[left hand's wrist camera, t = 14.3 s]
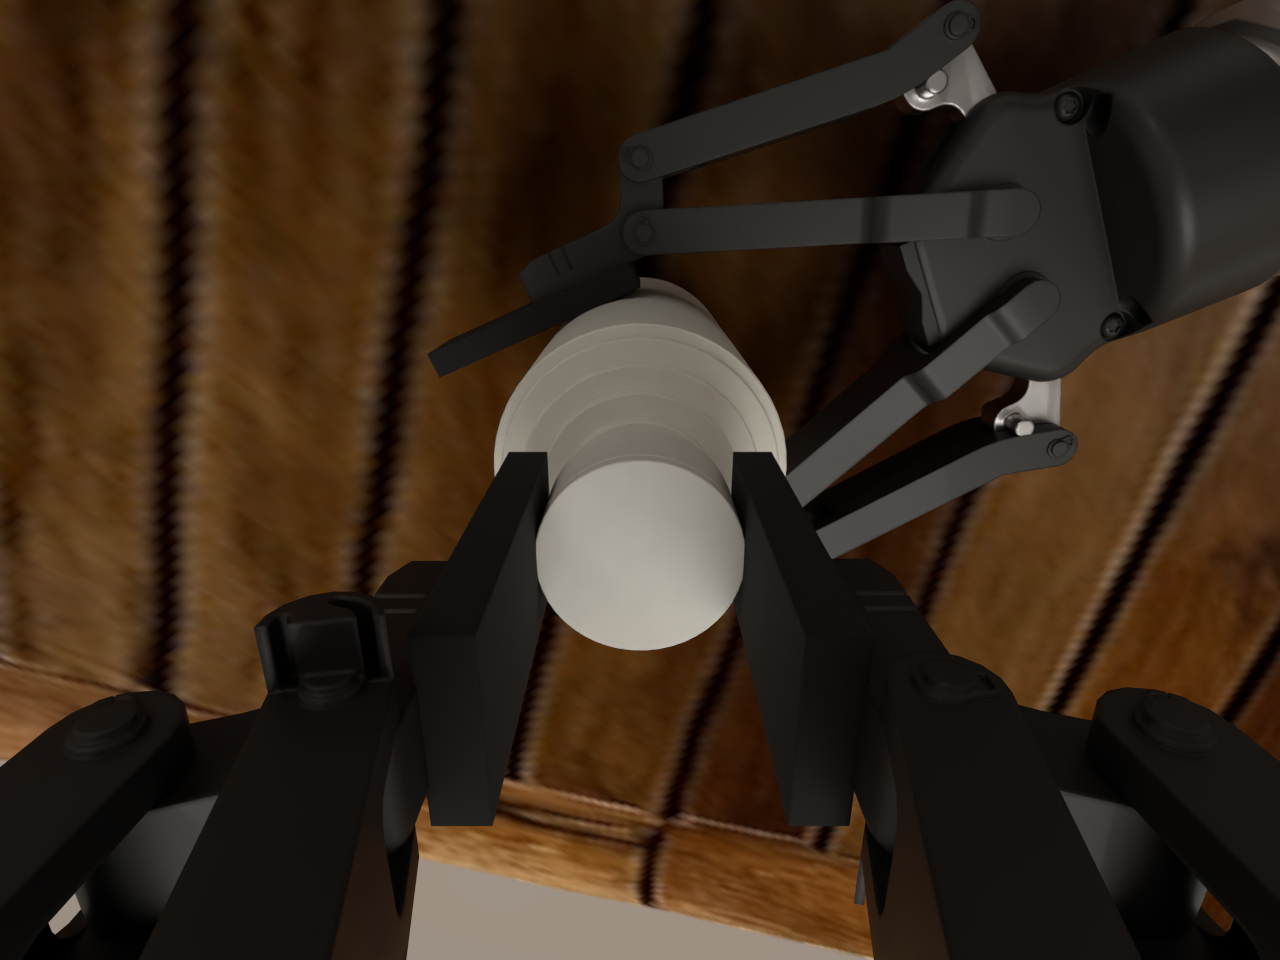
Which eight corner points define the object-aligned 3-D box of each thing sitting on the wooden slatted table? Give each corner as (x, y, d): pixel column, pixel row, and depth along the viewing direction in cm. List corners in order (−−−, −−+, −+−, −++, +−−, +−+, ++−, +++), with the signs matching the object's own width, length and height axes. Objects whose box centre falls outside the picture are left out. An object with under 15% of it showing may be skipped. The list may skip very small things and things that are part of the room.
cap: (585, 619, 15) (577, 673, 13) (519, 461, 14) (501, 498, 12) (754, 569, 15) (770, 618, 13) (702, 403, 13) (711, 432, 12)
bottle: (520, 352, 29) (368, 521, 13) (654, 239, 27) (674, 269, 11) (627, 477, 31) (614, 763, 15) (759, 378, 29) (904, 575, 13)
